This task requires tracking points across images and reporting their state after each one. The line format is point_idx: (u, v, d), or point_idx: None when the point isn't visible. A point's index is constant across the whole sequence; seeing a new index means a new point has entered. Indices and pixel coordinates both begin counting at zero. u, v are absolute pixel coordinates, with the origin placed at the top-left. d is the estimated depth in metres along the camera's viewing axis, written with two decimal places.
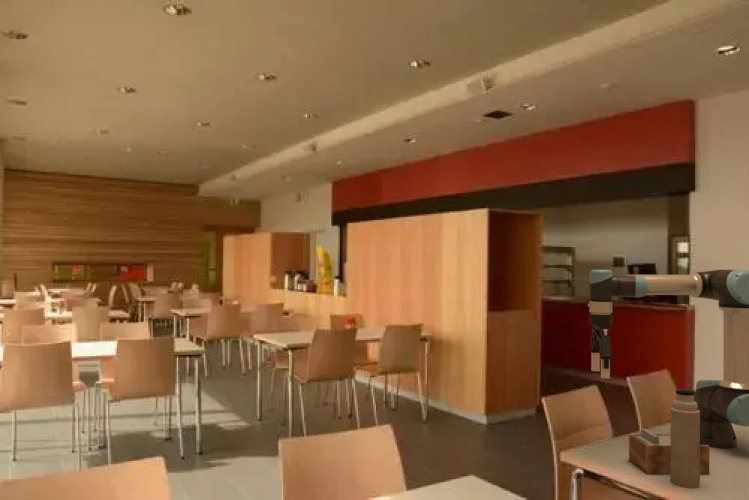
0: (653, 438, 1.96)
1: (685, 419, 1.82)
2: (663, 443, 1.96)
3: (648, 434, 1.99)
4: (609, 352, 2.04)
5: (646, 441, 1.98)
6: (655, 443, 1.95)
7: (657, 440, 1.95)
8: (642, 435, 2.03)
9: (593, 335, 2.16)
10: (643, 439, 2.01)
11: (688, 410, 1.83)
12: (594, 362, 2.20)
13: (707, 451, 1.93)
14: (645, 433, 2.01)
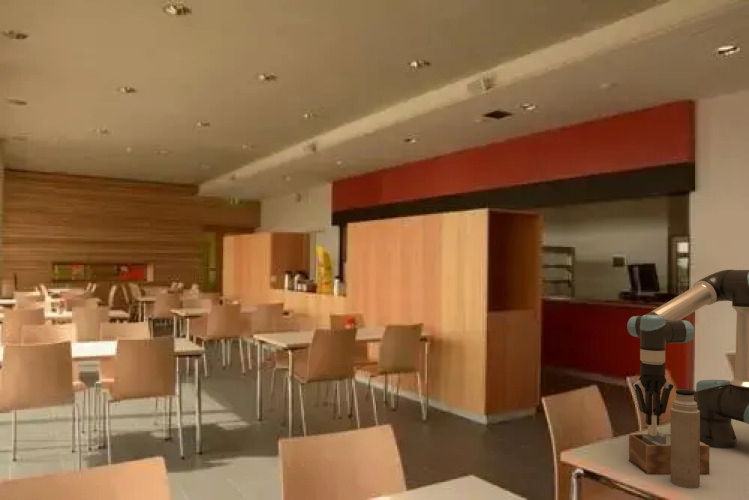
0: (660, 438, 1.96)
1: (685, 419, 1.82)
2: (670, 443, 1.96)
3: None
4: (641, 408, 1.99)
5: (653, 441, 1.98)
6: (662, 443, 1.95)
7: (664, 440, 1.95)
8: (649, 435, 2.03)
9: None
10: (651, 438, 2.01)
11: (688, 410, 1.83)
12: None
13: (707, 451, 1.93)
14: None
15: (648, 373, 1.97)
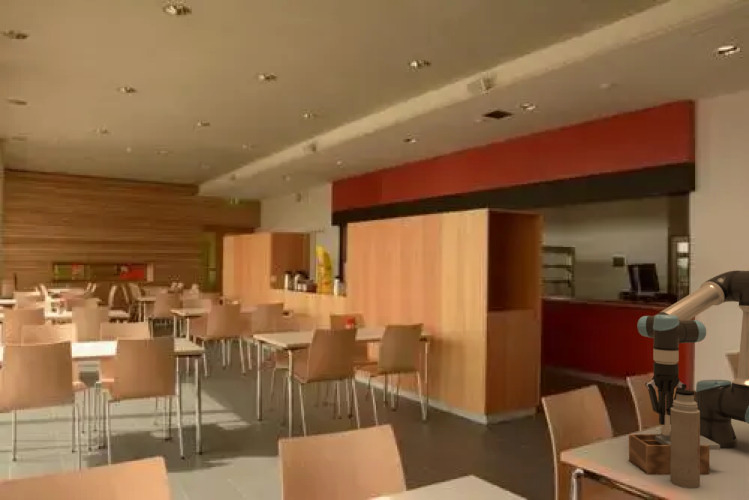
0: None
1: (685, 419, 1.82)
2: None
3: None
4: (654, 408, 1.99)
5: (667, 441, 1.98)
6: None
7: None
8: (662, 435, 2.03)
9: None
10: (664, 439, 2.01)
11: (688, 410, 1.83)
12: None
13: (707, 451, 1.93)
14: None
15: (661, 373, 1.97)
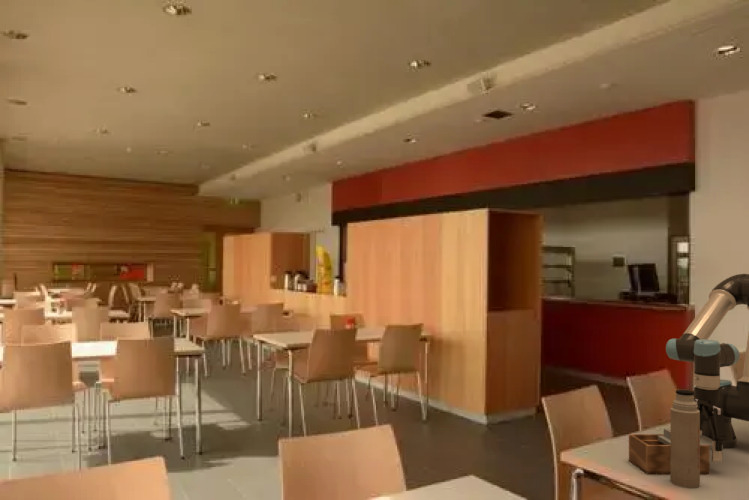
0: None
1: (685, 419, 1.82)
2: None
3: None
4: (724, 434, 1.92)
5: (669, 441, 1.98)
6: None
7: None
8: (665, 435, 2.03)
9: None
10: (666, 439, 2.01)
11: (688, 410, 1.83)
12: None
13: (707, 451, 1.93)
14: (668, 433, 2.01)
15: (719, 398, 1.98)
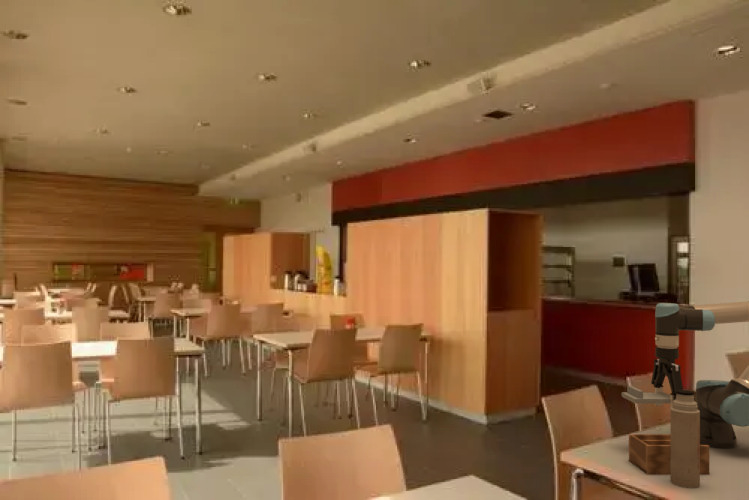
0: (638, 393, 2.12)
1: (685, 419, 1.82)
2: (647, 398, 2.12)
3: (633, 390, 2.15)
4: (681, 388, 2.08)
5: (631, 396, 2.14)
6: (640, 397, 2.11)
7: (641, 395, 2.11)
8: (628, 391, 2.19)
9: (658, 368, 2.19)
10: (629, 394, 2.17)
11: (688, 410, 1.83)
12: None
13: (707, 451, 1.93)
14: (630, 389, 2.17)
15: (678, 357, 2.14)
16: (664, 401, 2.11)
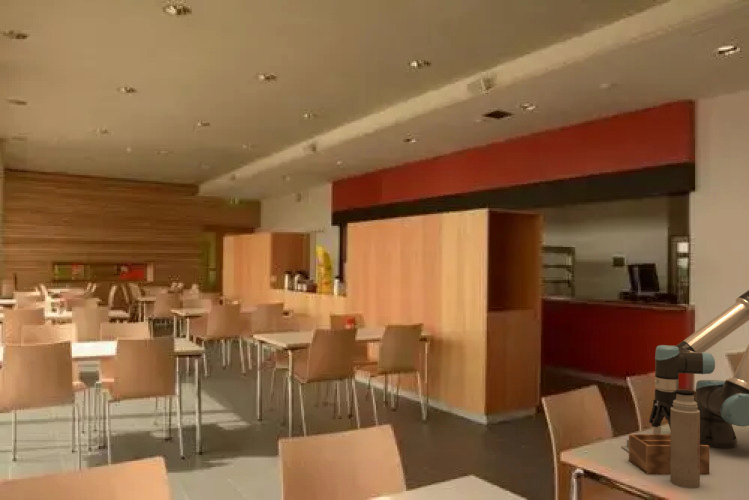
0: None
1: (685, 419, 1.82)
2: None
3: None
4: None
5: None
6: None
7: None
8: (628, 445, 2.19)
9: (657, 410, 2.19)
10: None
11: (688, 410, 1.83)
12: None
13: (707, 451, 1.93)
14: None
15: None
16: None
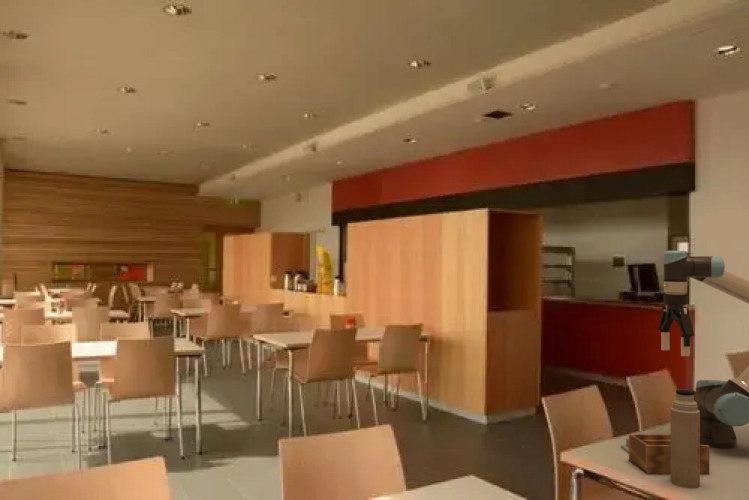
0: None
1: (685, 419, 1.82)
2: None
3: None
4: (691, 330, 2.09)
5: None
6: None
7: None
8: (627, 444, 2.19)
9: (666, 315, 2.21)
10: (628, 448, 2.17)
11: (688, 410, 1.83)
12: (664, 341, 2.25)
13: (707, 451, 1.93)
14: None
15: (686, 302, 2.16)
16: None
